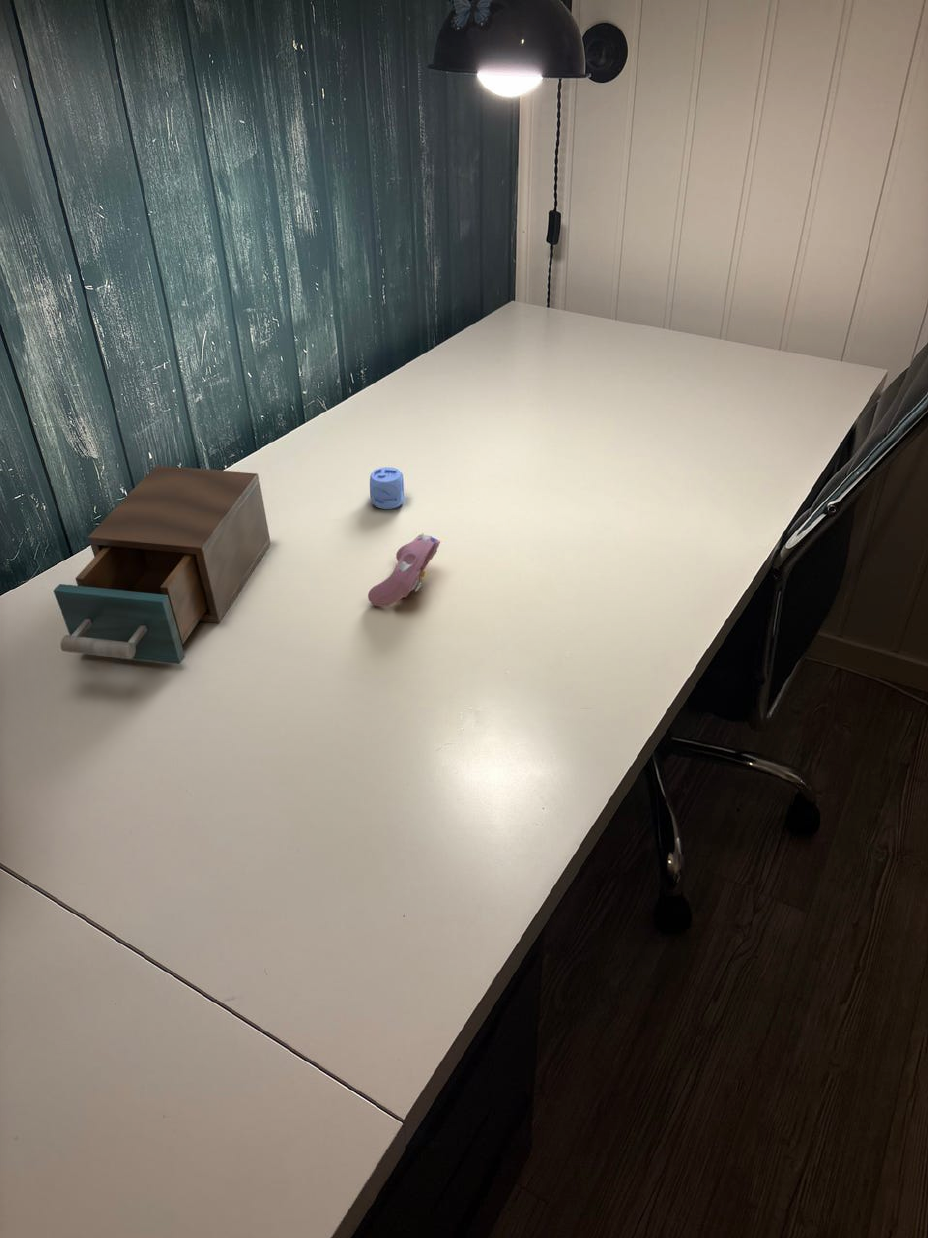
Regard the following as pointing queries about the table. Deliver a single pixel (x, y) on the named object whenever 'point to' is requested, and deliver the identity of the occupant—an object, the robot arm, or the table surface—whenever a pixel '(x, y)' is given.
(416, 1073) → the table surface
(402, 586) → the video game controller
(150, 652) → the drawer
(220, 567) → the cabinet
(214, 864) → the table surface
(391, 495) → the decorative dice
